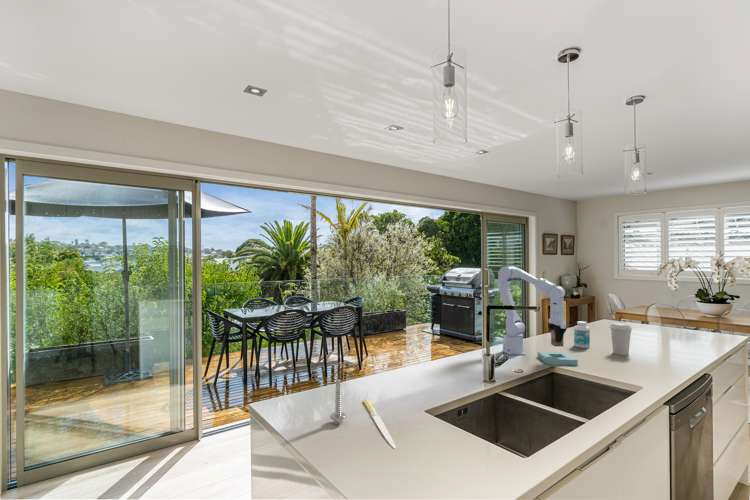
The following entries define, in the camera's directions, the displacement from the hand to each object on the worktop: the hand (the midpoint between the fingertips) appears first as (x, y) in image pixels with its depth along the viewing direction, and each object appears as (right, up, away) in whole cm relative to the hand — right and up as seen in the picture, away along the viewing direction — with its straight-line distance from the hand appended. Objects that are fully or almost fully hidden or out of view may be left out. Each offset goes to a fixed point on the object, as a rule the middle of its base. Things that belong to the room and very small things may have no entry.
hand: (556, 340), depth 179 cm
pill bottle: (+27, -10, +27) cm, 39 cm away
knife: (-84, -10, -64) cm, 106 cm away
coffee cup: (+39, -10, +13) cm, 42 cm away
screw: (-97, -9, -65) cm, 117 cm away
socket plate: (0, -9, 0) cm, 9 cm away
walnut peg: (0, -2, 0) cm, 2 cm away
